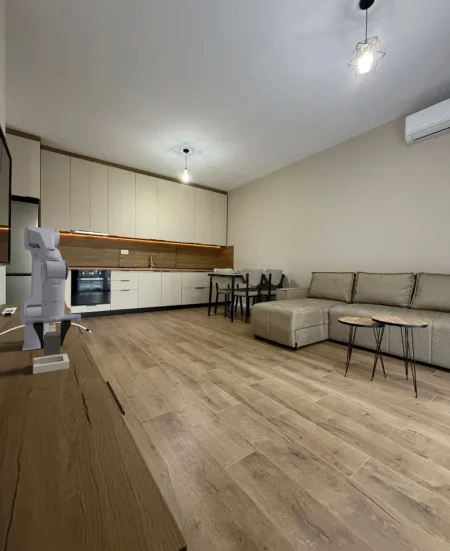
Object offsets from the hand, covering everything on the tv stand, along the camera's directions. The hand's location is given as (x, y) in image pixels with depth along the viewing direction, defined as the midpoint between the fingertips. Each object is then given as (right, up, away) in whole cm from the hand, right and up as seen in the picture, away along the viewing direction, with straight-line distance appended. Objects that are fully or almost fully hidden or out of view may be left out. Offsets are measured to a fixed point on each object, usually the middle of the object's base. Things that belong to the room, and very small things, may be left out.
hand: (51, 346), depth 75 cm
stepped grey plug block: (0, -2, 0) cm, 2 cm away
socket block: (0, -6, 0) cm, 6 cm away
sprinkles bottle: (-20, -5, +27) cm, 34 cm away
